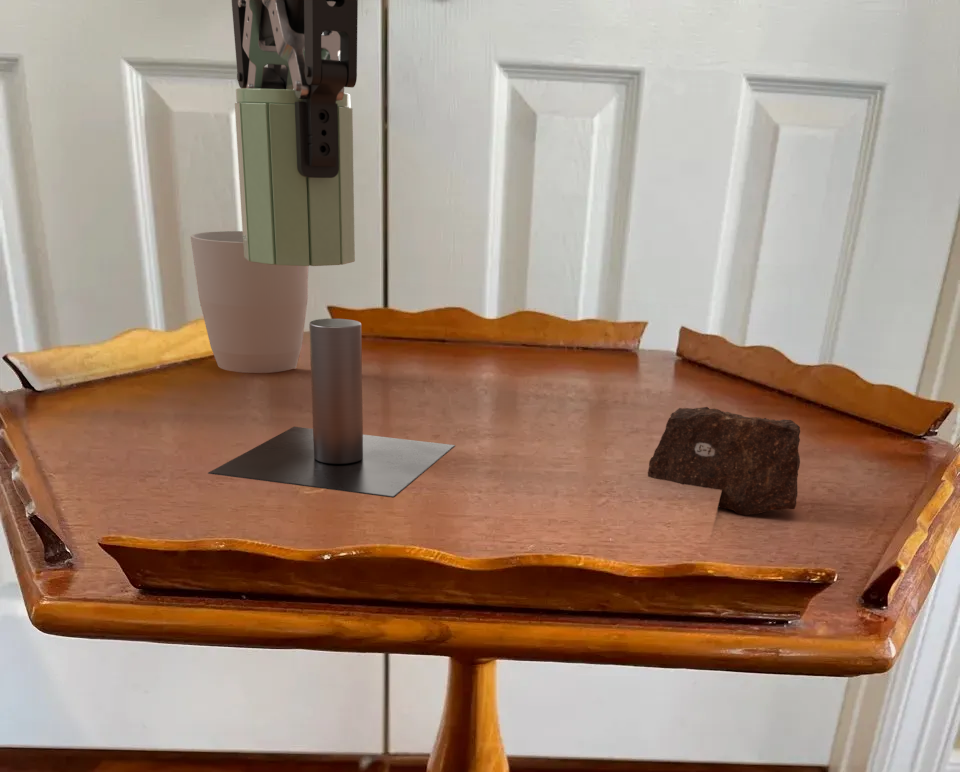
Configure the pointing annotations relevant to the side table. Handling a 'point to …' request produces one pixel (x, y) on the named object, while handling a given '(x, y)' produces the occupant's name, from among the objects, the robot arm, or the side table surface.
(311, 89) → the robot arm
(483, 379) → the side table surface
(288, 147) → the tumbler
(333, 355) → the holder
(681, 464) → the stone
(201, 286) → the cup
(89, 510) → the side table surface
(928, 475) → the side table surface
